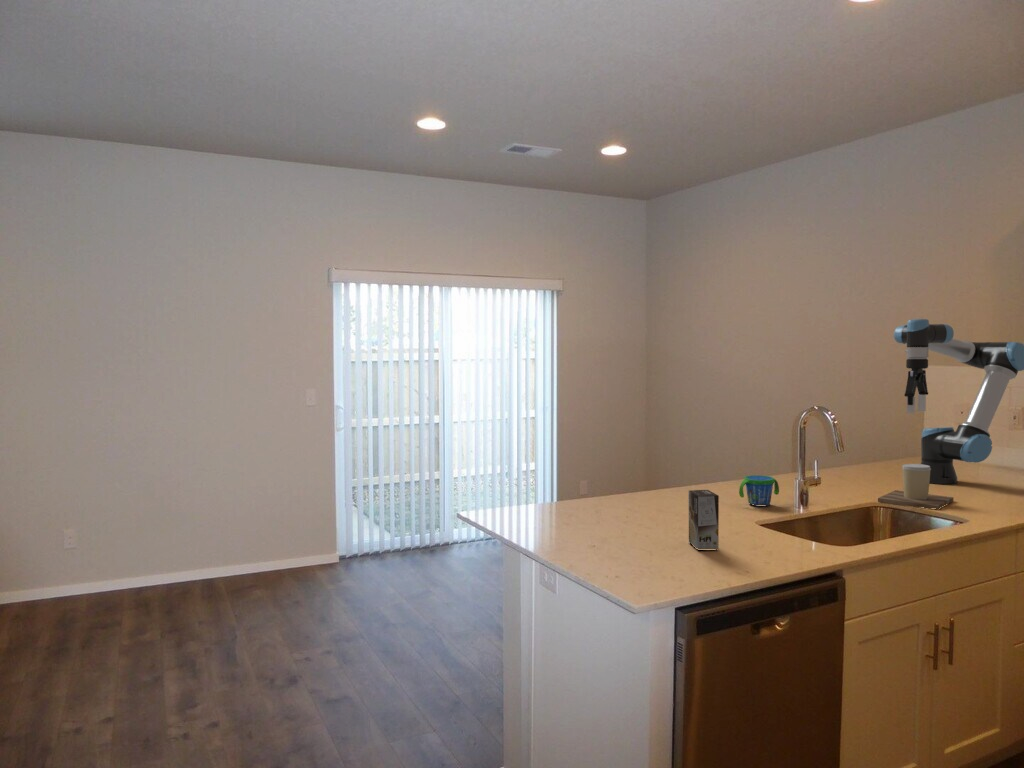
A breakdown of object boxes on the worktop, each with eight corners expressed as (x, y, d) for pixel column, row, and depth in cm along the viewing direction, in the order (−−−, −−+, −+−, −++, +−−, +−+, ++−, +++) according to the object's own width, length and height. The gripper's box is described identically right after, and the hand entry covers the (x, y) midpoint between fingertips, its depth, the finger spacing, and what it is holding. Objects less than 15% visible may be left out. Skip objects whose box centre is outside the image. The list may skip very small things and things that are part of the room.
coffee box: (719, 551, 209) (719, 495, 208) (697, 551, 208) (698, 496, 208) (708, 542, 218) (708, 489, 217) (687, 543, 217) (687, 489, 217)
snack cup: (746, 509, 262) (746, 480, 261) (732, 502, 272) (732, 475, 272) (786, 507, 264) (786, 479, 264) (771, 501, 275) (771, 474, 274)
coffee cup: (923, 495, 276) (923, 463, 275) (935, 500, 266) (935, 467, 266) (897, 494, 277) (897, 463, 276) (908, 500, 267) (908, 467, 267)
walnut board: (895, 493, 286) (895, 490, 286) (953, 501, 272) (953, 497, 271) (877, 502, 271) (877, 498, 271) (937, 510, 257) (938, 505, 257)
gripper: (916, 357, 299) (915, 409, 300) (896, 358, 281) (895, 413, 282) (937, 357, 293) (936, 410, 294) (918, 359, 276) (916, 414, 277)
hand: (916, 412), depth 288 cm, fingers open, 13 cm apart
